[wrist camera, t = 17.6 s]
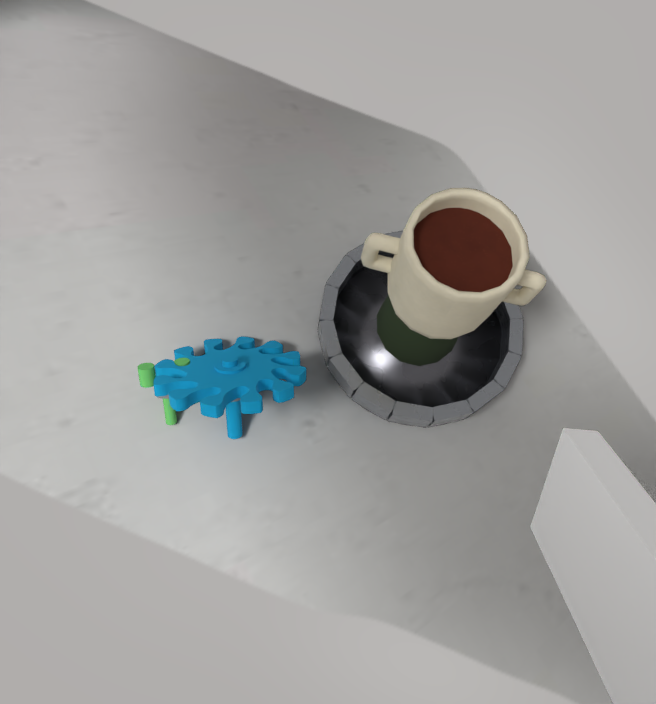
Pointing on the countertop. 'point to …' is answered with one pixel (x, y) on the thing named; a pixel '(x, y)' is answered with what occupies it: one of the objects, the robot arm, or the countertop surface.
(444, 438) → the countertop surface
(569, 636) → the countertop surface
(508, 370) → the grey round tray
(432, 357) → the character mug
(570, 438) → the robot arm
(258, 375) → the gear
